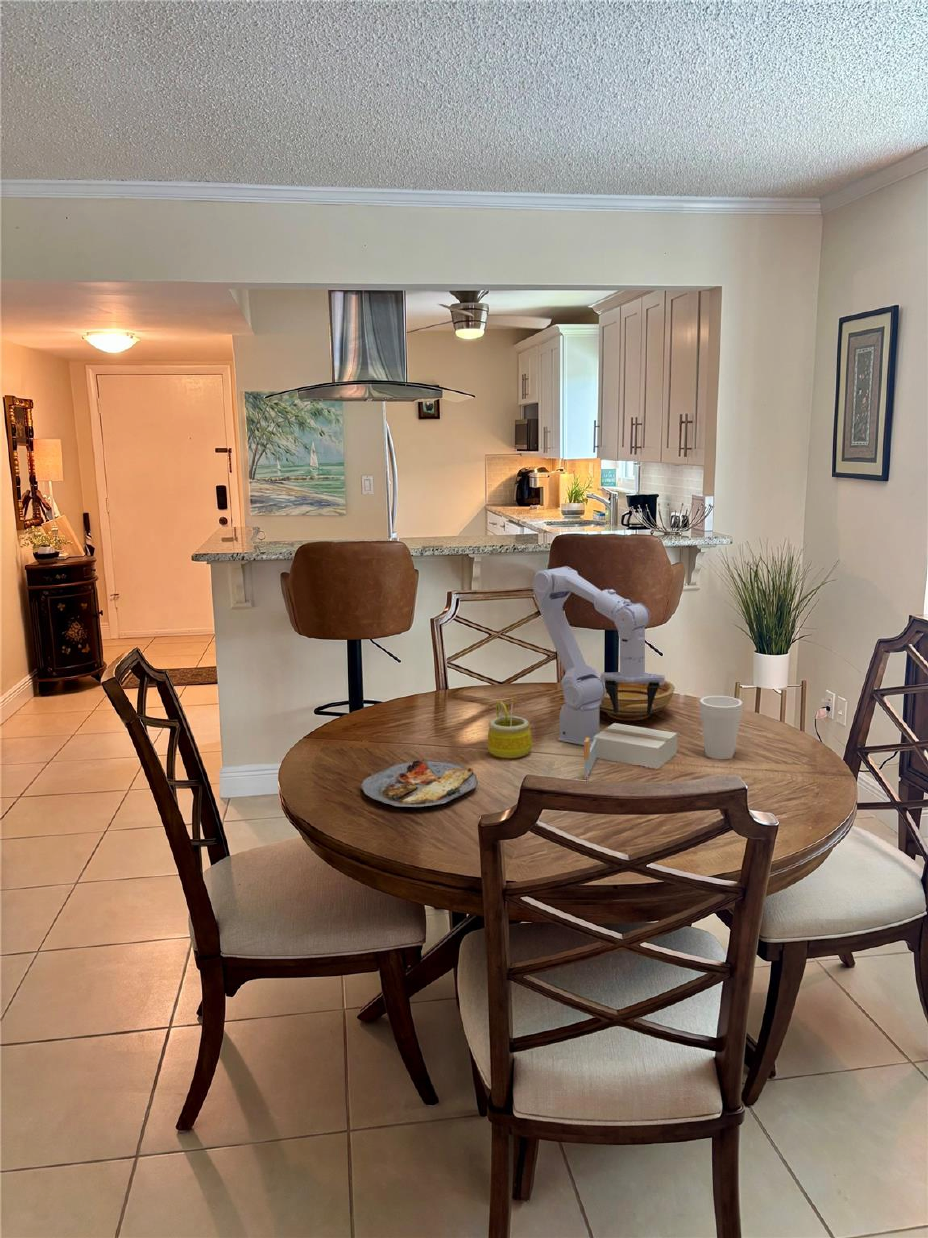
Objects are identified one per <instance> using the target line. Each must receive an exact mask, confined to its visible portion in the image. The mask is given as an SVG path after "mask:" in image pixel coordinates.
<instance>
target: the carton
mask: <svg viewBox="0 0 928 1238" xmlns="http://www.w3.org/2000/svg"><path fill="white" fill-rule="evenodd" d="M677 738H678V733H677V732H672V731H667V730H666V731H665V730H659V729H653V728H648V727H641V726H635V725H628V724H623V723H622V724H621V723H618V722H617V723H616V722H614V723H612V724H611V725H609V726H607V727H605V728H603V729H602V730H601V731H599V733H598V734H597V735H595V736H594V737H593V741H594V739H597V758H596V759H601V760H604V761H610V762H611V761H612V762H616V761H617V763H622V764H626V763H627V765H632V766H633V765H634V766H637V765H642V766H645V767H644V768H648V767H649V769H653V768H654V770H658V769H660V768H661V767H662V766H664V765H665V764H666V763H667V762H668V761H669V760H671V758H673V757H674V756H675V755H677V752H678V751H677V749H678V748H677V746H678V745H677V743H678V741H677V740H678V739H677ZM642 766H641V767H642Z"/></svg>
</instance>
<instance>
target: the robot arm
mask: <svg viewBox="0 0 928 1238" xmlns="http://www.w3.org/2000/svg"><path fill="white" fill-rule="evenodd" d="M532 580H533V581H532V583H531V587H532V590H533V593H534V594H535V597H536V600H537V605H538V610H539V612H540V615H541V617H542V619H543V622H544V625H545V627H546V630H547V632H548V634H549V636H550V639H551V641H552V643H553V647H554V648H555V651H556V653H557V656H558V658H559V660H560V663H561V666H562V668H563V670H564V672H565V674H564V675H563V677H562V679H561V680H560V685H561V686H562V691H563V694H562V695H563V699H564V701H565V703H564V704H563V705H562V706H561V708H560V711H559V737H558V741H559V742H564V743H571V744H575V745H580V746H584V741H585V739H586V737H588V738H590V747H591V745H592V743H593V737H594V736H595V735H597V734H598V733H600V709H599V705H600V704H601V700H602V699H603V698H604V697H605V695H606V691H607V692H608V694H609V696H610V699H611V702H612V705H613V709H614V713H617V712H618V682H622V683H644V684H649V685H648V686H647V696H648V704H647V715H649V716H650V715H651V714H652V713H651V709H652V704H653V700H654V697H655V695H656V692H657V690H658V688H659V686H660V685H664V683H665V681H666V680H665V678H666V676H665V675H666V674H658V673H657V674H656V673H648V672H646V628H645V627H647V626H648V625H649V623H650V622H651V621H650V620H651V612H650V610H649V608H648V607H647V606H645V604H644V603H642V602H636V603H632V602H631V600H630V599H629V598H627V599H625V598H624V597H622V596H620V595H619V594H617V593H616V592H617V591H616V590H614V589H613V588H612V589H603V590H601V589H599V588H597V587H596V586H595V585H594V584H592V583H591V582H589V581H588V580H586V579H585V578H584V577H582V576H581V575H579V573H578V570H575V569H573V568H571V567H569V566H567V565H566V566H565V565H564V566H561V567H555V568H551V569H540V570H538V571H537V572H536V573H535V575H534V577H533V579H532ZM571 593H573V594H575V595H577V596H579V597H581V598H583V599H585V600H586V601H589V602H591V603H592V604H593V607H594V610H595V611H597V612H598V613H600V614H601V615H603V616H604V617H607V618H608V619H610V621H613V623H614V625H615V627H616V630H617V635H618V637H619V671H615V672H601V674H600V676H599V675H598V673H597V671H596V669H594V668H592V667H591V666H589V665H587V663H586V661H585V659H584V656H583V654H582V651H581V650H580V647H579V645H578V643H577V642H578V641H577V640H576V638H575V635H574V633H573V630H572V628H571V625H570V623H569V621H568V619H567V616H566V614H565V611H564V609H563V606H564V603H565V602H566V601H567V599H568V598H569V596H570V595H571ZM600 677H601V678H600ZM604 682H605V684H604Z"/></svg>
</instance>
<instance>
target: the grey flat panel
mask: <svg viewBox="0 0 928 1238" xmlns="http://www.w3.org/2000/svg"><path fill="white" fill-rule="evenodd" d="M597 759H598V758H597V739H594V741H593V743H592V745H591V746H590V738H588V737H586V739H585V741H584V745H583V760H584V778H585V777H587V776H588V774H589V773H591V772H590V771H592V769H593V767H594V764H595V762H596V760H597ZM589 775H590V774H589ZM588 777H589V776H588Z"/></svg>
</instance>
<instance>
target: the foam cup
mask: <svg viewBox="0 0 928 1238" xmlns="http://www.w3.org/2000/svg"><path fill="white" fill-rule="evenodd" d="M699 711H700V717H701V726H702V727H701V729H702V734H703V743H704V751H705V753H704V754H705V756H707V757H709V758H711V759H715V760H730V759H732V758H733V757H734V754H735V749H736V744H737V738H738V734H739V733H738V732H739V725H740V721H741V715H742V713H743V701H742V700H741V699H739V698H737V697H731V696H727V695H708V696H704V697H701V698H700V699H699Z"/></svg>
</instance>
